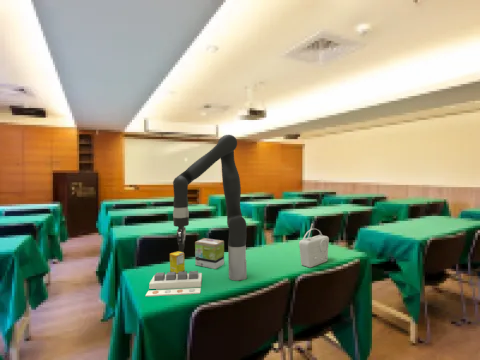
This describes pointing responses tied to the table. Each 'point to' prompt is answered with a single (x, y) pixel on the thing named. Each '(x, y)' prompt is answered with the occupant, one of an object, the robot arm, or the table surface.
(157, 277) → the button
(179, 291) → the pattern card
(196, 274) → the button
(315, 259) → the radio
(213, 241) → the tea box
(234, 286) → the table surface
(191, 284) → the button board
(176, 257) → the supplement box
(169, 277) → the button
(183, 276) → the button
